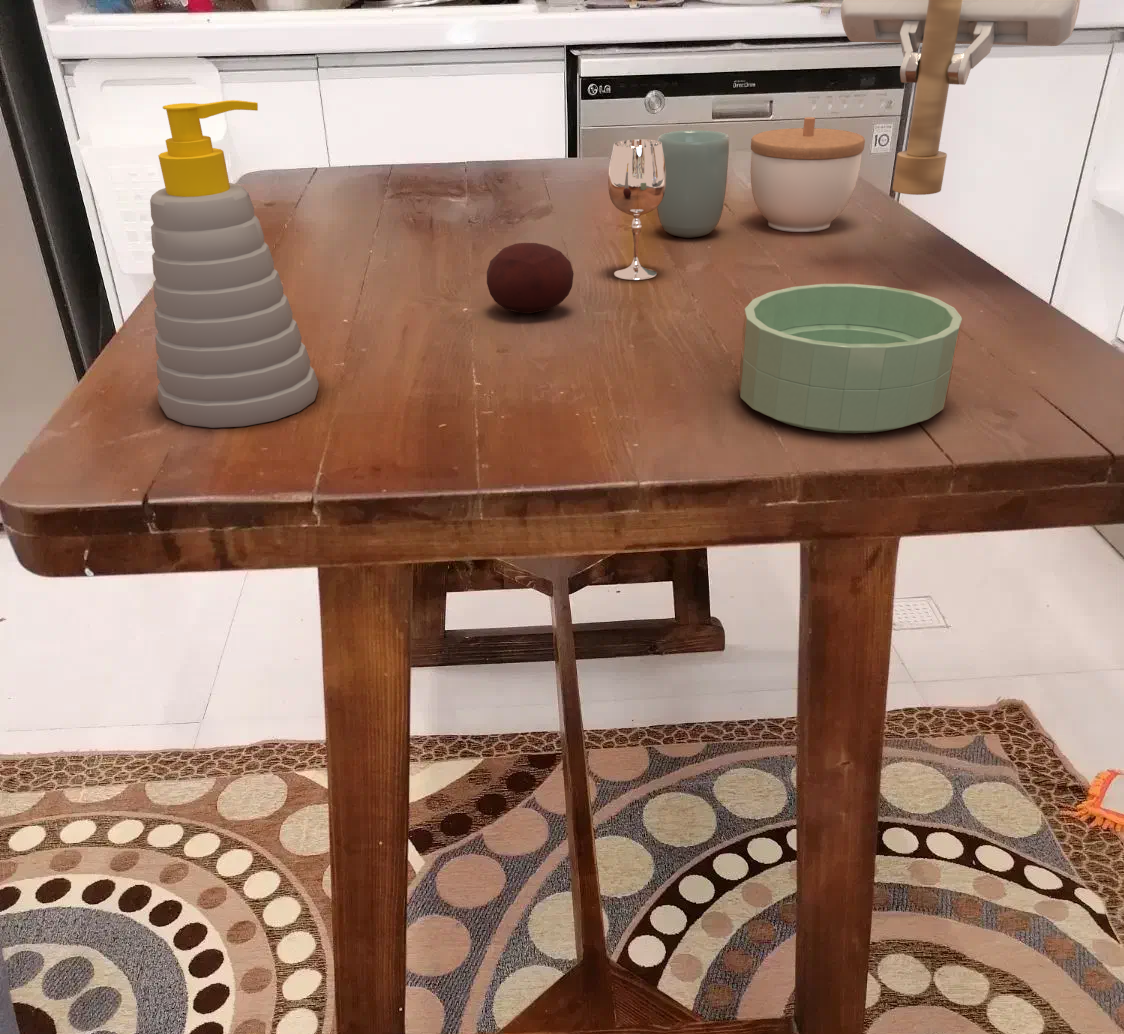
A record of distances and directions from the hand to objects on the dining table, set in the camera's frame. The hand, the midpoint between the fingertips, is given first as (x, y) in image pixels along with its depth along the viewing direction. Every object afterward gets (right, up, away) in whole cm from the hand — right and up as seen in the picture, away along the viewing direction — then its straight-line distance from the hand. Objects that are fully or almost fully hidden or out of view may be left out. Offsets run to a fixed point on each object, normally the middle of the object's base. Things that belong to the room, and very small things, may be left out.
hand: (932, 78), depth 97 cm
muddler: (+1, -7, +6) cm, 9 cm away
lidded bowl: (-5, +2, +32) cm, 33 cm away
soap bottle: (-58, -32, -10) cm, 67 cm away
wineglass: (-25, -10, +17) cm, 32 cm away
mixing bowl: (-11, -32, -13) cm, 36 cm away
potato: (-36, -18, +7) cm, 41 cm away
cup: (-18, 0, +30) cm, 35 cm away
